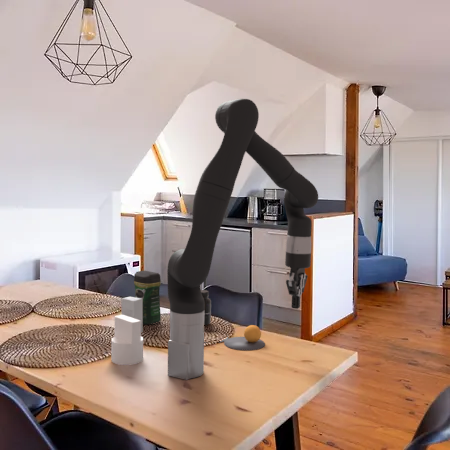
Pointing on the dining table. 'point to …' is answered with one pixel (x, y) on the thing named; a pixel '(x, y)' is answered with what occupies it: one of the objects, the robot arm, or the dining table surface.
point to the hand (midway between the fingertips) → (295, 307)
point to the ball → (252, 333)
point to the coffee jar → (148, 295)
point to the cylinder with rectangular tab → (127, 341)
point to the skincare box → (133, 308)
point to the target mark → (243, 344)
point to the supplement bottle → (206, 307)
